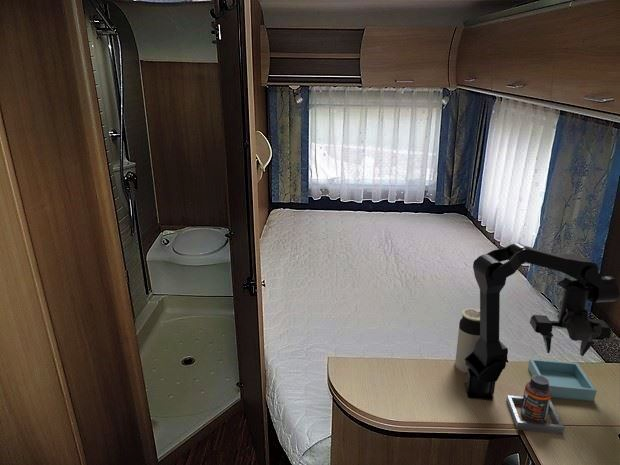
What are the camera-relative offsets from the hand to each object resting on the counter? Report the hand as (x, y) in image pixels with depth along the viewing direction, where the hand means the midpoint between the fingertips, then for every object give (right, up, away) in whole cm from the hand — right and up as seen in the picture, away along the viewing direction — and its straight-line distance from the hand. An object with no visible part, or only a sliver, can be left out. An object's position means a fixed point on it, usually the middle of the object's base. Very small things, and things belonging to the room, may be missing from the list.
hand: (564, 353), depth 123 cm
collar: (-13, -14, -9) cm, 21 cm away
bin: (0, -10, +3) cm, 10 cm away
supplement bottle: (-13, -14, -9) cm, 21 cm away
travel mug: (-22, -7, +12) cm, 26 cm away
